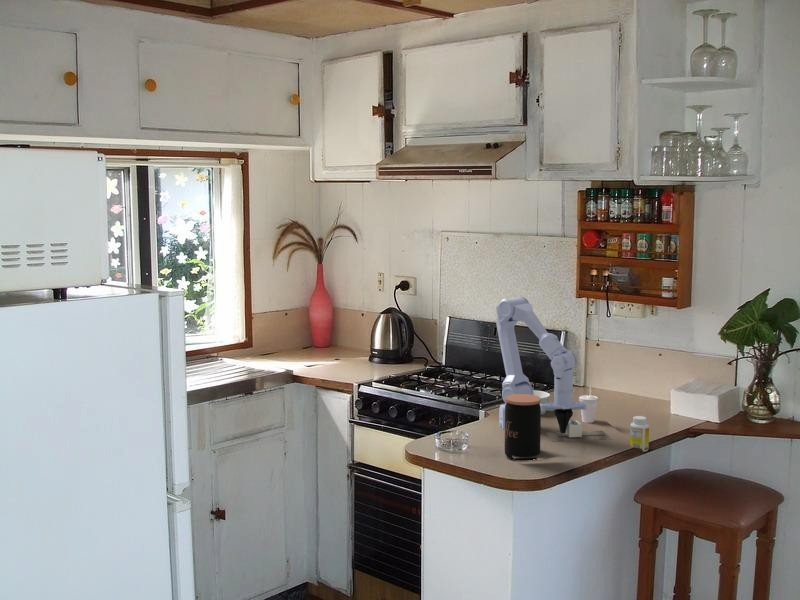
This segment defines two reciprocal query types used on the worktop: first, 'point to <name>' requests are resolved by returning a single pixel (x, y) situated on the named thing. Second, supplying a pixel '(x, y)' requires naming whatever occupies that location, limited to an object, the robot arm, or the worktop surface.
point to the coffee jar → (522, 426)
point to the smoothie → (588, 407)
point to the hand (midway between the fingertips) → (562, 432)
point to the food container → (542, 398)
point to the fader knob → (574, 428)
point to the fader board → (585, 436)
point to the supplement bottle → (639, 433)
